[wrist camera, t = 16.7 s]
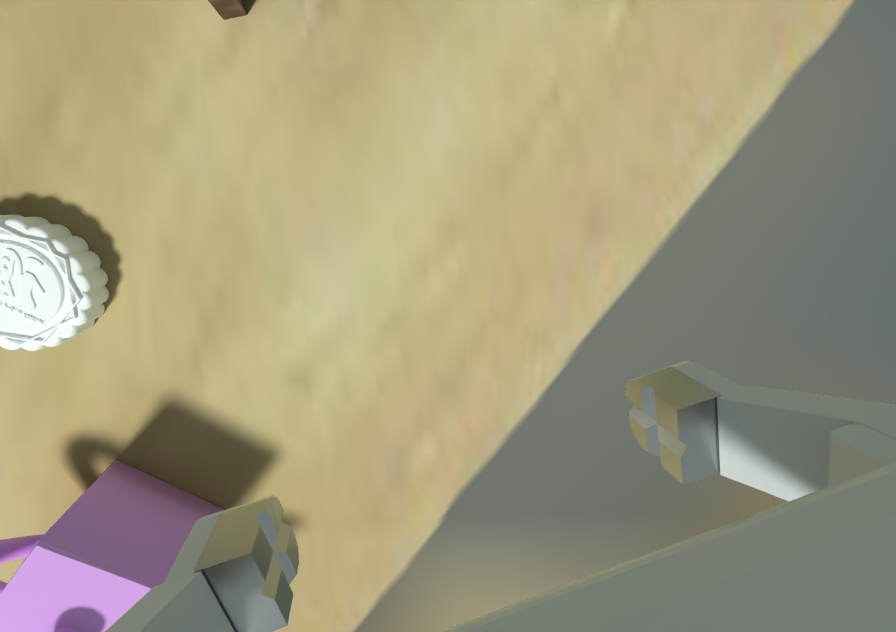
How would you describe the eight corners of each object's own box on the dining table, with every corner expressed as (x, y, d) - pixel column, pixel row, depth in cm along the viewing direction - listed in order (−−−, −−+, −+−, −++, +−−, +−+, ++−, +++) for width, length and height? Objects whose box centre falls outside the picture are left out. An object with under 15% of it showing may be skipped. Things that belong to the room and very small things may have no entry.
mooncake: (133, 260, 41) (112, 266, 37) (78, 362, 42) (52, 376, 39) (-8, 187, 37) (-46, 186, 34) (-63, 300, 39) (-105, 310, 35)
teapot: (213, 623, 53) (162, 765, 40) (-6, 543, 45) (-159, 686, 32) (283, 535, 52) (254, 652, 38) (68, 436, 44) (-61, 541, 31)
